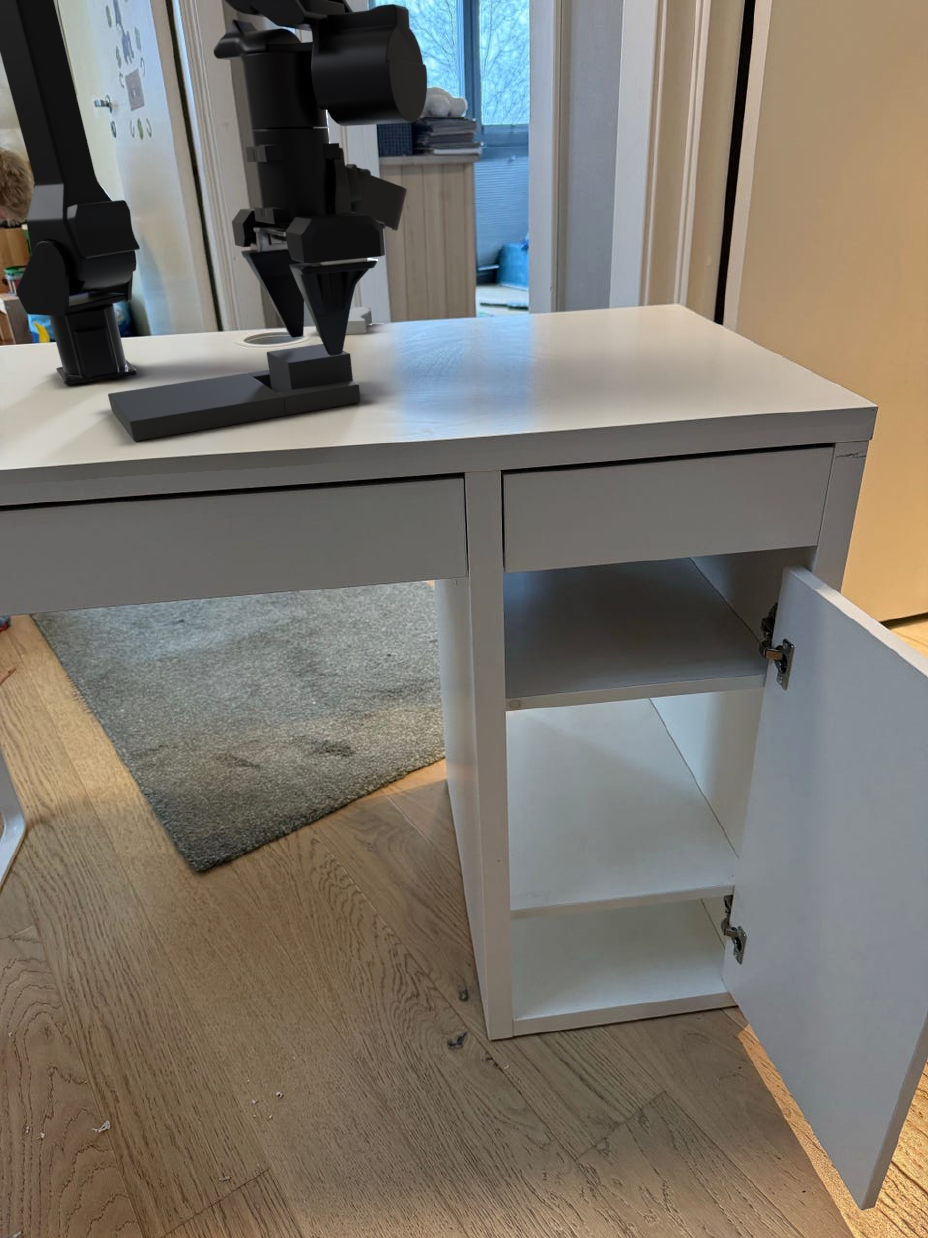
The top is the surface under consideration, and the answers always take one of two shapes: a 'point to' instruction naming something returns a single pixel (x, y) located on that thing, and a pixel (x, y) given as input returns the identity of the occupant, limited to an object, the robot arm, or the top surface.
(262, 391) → the base pad
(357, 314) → the light grey notched plate
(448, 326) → the top surface
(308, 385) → the dark grey rectangular block
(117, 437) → the top surface
